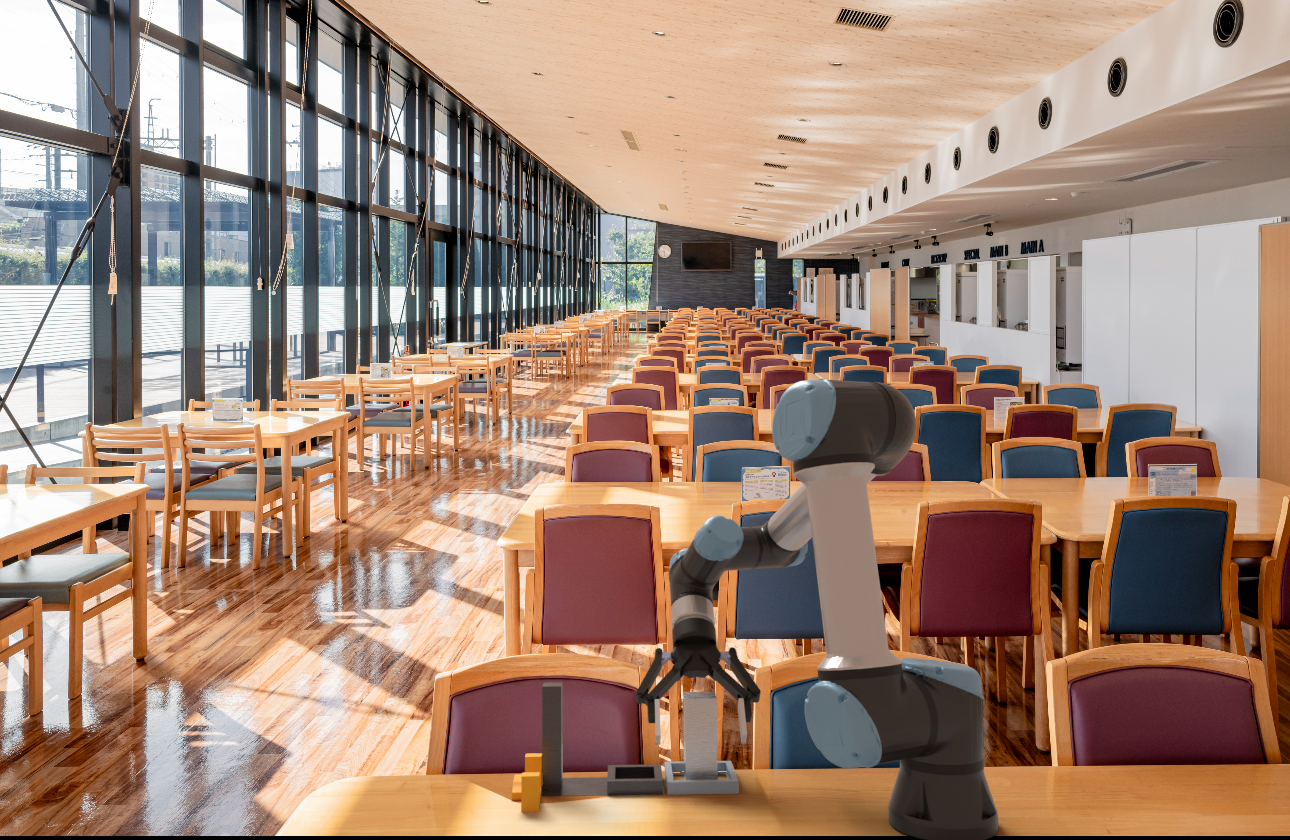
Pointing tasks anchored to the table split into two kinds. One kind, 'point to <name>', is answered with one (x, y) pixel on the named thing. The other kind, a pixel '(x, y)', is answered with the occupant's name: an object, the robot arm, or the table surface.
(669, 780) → the parts tray
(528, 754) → the pipe clamp
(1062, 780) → the table surface
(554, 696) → the dark grey post stand
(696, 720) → the light grey tall block
